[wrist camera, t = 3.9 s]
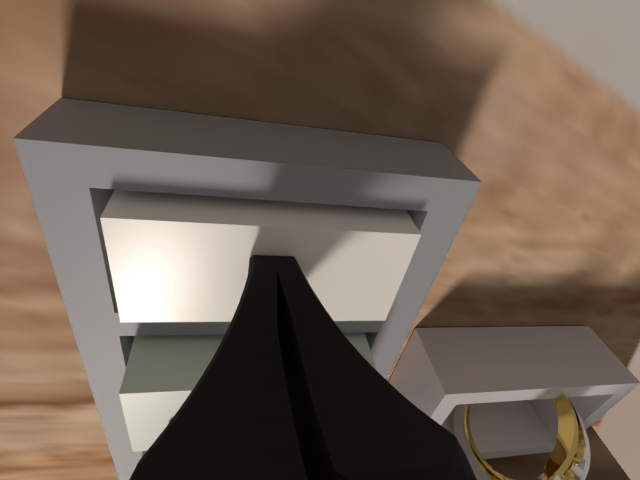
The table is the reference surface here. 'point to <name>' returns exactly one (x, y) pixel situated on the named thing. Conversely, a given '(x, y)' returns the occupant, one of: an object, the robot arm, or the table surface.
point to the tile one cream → (249, 253)
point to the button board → (220, 181)
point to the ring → (566, 449)
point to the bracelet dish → (510, 381)
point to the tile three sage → (173, 379)
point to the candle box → (602, 474)
